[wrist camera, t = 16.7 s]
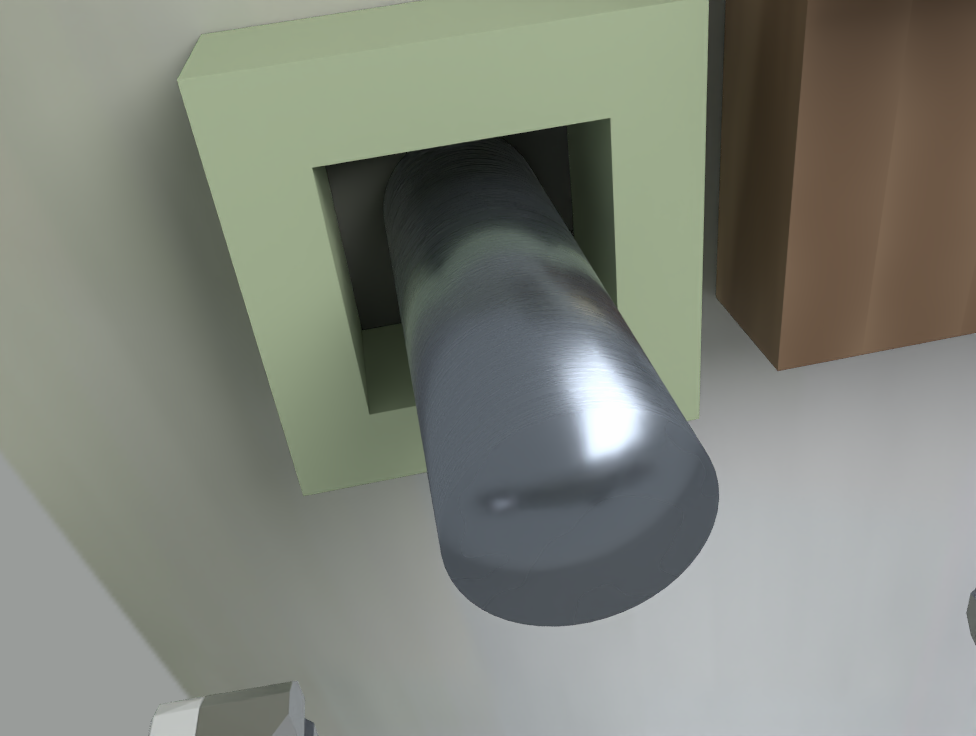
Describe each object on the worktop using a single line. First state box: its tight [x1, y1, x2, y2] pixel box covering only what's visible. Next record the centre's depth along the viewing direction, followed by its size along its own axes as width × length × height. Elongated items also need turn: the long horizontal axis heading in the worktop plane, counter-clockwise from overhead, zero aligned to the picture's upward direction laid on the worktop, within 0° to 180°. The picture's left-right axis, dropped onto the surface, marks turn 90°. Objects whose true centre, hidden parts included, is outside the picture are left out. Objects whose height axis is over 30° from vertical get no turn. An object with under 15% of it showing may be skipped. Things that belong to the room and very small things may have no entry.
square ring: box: [177, 0, 709, 496], centre depth 21 cm, size 10×10×4 cm
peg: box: [383, 137, 719, 626], centre depth 17 cm, size 4×4×12 cm
